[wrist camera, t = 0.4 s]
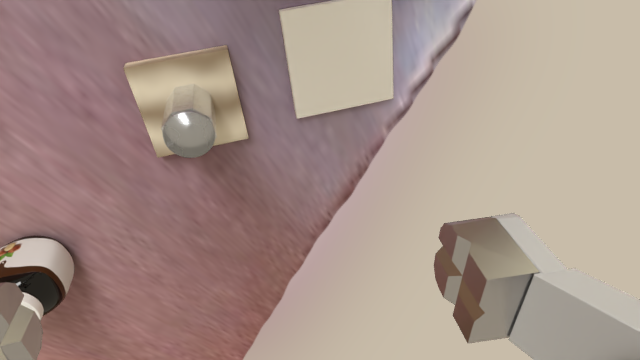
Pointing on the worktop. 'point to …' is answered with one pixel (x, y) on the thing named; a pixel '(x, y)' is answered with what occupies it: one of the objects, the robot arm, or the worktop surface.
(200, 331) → the worktop surface
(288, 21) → the board
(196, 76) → the post stand
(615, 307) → the robot arm
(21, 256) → the spread jar
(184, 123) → the silver metal canister
